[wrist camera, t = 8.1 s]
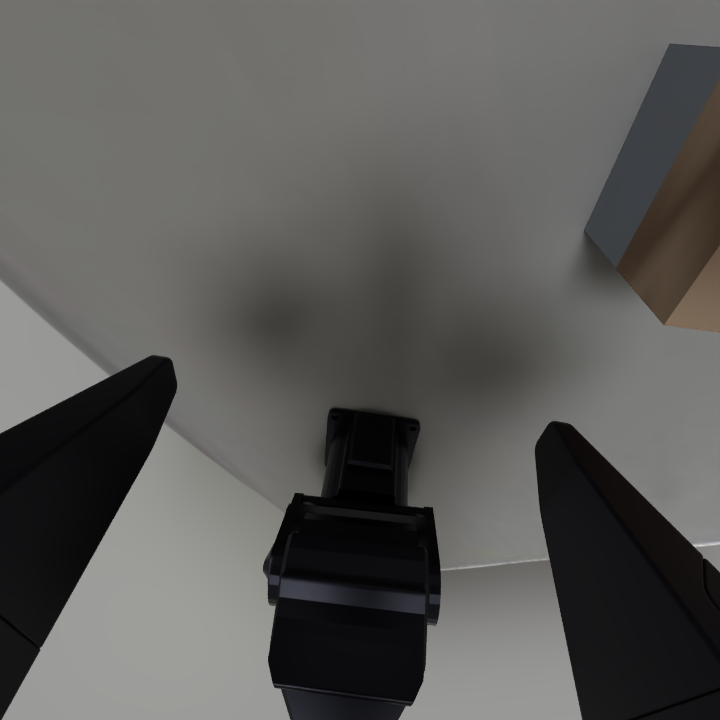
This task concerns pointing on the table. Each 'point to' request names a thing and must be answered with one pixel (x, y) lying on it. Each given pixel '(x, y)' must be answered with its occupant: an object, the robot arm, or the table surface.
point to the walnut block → (683, 234)
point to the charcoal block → (653, 144)
